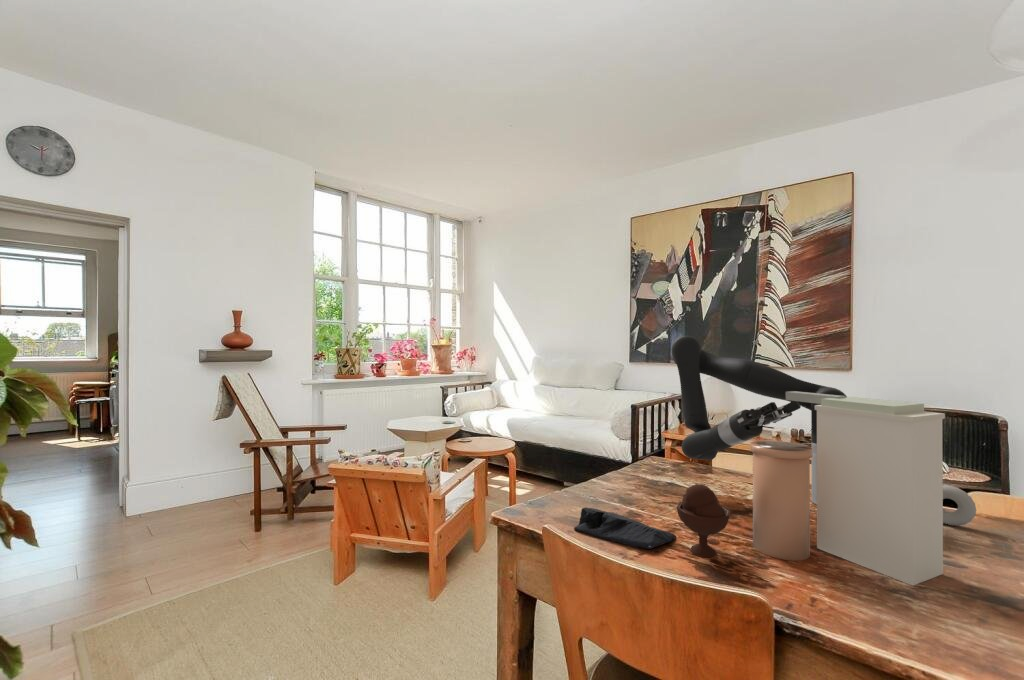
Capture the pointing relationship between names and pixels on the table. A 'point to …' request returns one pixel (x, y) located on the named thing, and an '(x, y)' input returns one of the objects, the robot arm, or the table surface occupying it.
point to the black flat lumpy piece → (621, 529)
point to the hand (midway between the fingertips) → (787, 404)
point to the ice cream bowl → (702, 517)
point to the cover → (856, 403)
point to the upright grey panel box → (881, 490)
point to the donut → (964, 503)
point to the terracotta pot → (781, 499)
